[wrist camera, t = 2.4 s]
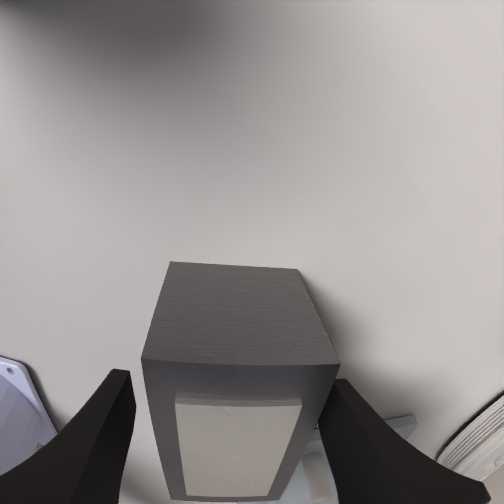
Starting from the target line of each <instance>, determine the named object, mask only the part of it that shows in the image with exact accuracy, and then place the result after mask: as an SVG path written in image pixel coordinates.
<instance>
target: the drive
mask: <svg viewBox="0 0 504 504" xmlns="http://www.w3.org/2000/svg"><path fill="white" fill-rule="evenodd" d="M141 363H142V369H143V376H144V382H145V388H146V394H147V399H148V405H149V410H150V415H151V420H152V425H153V430H154V434H155V439H156V443H157V448H158V452H159V456H160V460H161V464H162V468H163V472H164V476H165V479H166V483H167V487H168V490H169V494H170V497H171V499H172V500H183V501H199V502H260V501H276V500H279V499H280V498H281V496H282V494H283V492H284V490H285V488H286V486H287V484H288V483H289V481H290V479H291V477H292V475H293V473H294V471H295V469H296V467H297V465H298V463H299V461H300V459H301V457H302V454H303V452H304V450H305V448H306V446H307V444H308V442H309V440H310V437H311V435H312V433H313V431H314V428H315V426H316V424H317V422H318V419H319V417H320V415H321V412H322V410H323V408H324V405H325V403H326V400H327V398H328V395H329V393H330V390H331V388H332V385H333V383H334V380H335V378H336V375H337V372H338V370H339V367H340V364H341V363H340V361H339V358H338V356H337V354H336V352H335V349H334V347H333V345H332V343H331V341H330V338H329V336H328V334H327V332H326V330H325V327H324V325H323V323H322V321H321V319H320V317H319V314H318V312H317V310H316V308H315V306H314V304H313V301H312V299H311V297H310V295H309V293H308V291H307V289H306V287H305V284H304V282H303V280H302V278H301V276H300V274H299V272H298V270H297V269H286V268H268V267H251V266H234V265H218V264H202V263H187V262H172V261H170V264H169V267H168V270H167V273H166V276H165V280H164V283H163V286H162V289H161V292H160V295H159V298H158V302H157V305H156V308H155V311H154V315H153V318H152V321H151V325H150V328H149V331H148V335H147V338H146V342H145V345H144V349H143V352H142V356H141Z"/></svg>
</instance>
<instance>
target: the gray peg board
mask: <svg viewBox="0 0 504 504" xmlns="http://www.w3.org/2000/svg"><path fill="white" fill-rule="evenodd" d="M384 421H385V422H386V423H387V424H388V425H389V426H390V427H391V428H392V429H393V430H394V431H396V432H397V433H398V434H399V435H400V436H401V437H402V438H403V439H406V438H407V437H408V436H409V434H410V433H411V432H412V430H413V429H414V428H415V426H416V425H417V424H418V423H417V421H416V419H415V418H414V416H413V415H408V416H403V417H398V418H393V419H388V420H384ZM238 504H339V500H338V495H337V489H336V485H335V481H334V478H333V475H332V472H331V469H330V465H329V462H328V459H327V456H326V453H325V449H324V446H323V443H322V440H321V436H320V431H319V429H314V431H313V433H312V435H311V437H310V440H309V442H308V444H307V446H306V448H305V450H304V452H303V454H302V457H301V459H300V461H299V463H298V465H297V467H296V469H295V471H294V473H293V475H292V477H291V479H290V481H289V483H288V484H287V486H286V488H285V490H284V492H283V494H282V496H281V498H280V499H279V500H276V501H260V502H238Z"/></svg>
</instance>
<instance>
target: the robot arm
mask: <svg viewBox="0 0 504 504" xmlns="http://www.w3.org/2000/svg"><path fill="white" fill-rule="evenodd" d="M135 414H136V402H135V397H134V392H133V387H132V381H131V376H130V371H127V370H120V369H112V370H111V371H110V372H109V374H108V375H107V377H106V378H105V379H104V381H103V382H102V383H101V385H100V386H99V387H98V389H97V390H96V391H95V392H94V394H93V395H92V396H91V397H90V399H89V400H88V401H87V402H86V403H85V405H84V406H83V407H82V408H81V409H80V411H79V412H78V413H77V414H76V415H75V416H74V417H73V418H72V419H71V420H70V422H69V423H68V424H67V425H66V426H65V427H64V428H63V429H62V430H61V431H60V432H59V433H57V431H56V429H55V427H54V426H53V424H52V422H51V420H50V418H49V416H48V414H47V412H46V410H45V408H44V406H43V404H42V402H41V400H40V398H39V396H38V394H37V392H36V389H35V387H34V385H33V383H32V380H31V378H30V376H29V373H28V371H27V369H26V367H25V366H24V365H22V364H21V363H19V362H16V361H13V360H9V359H6V358H3V357H0V504H118V502H119V491H120V484H121V478H122V474H123V470H124V466H125V462H126V458H127V453H128V450H129V445H130V441H131V437H132V433H133V429H134V421H135ZM318 425H319V431H320V436H321V440H322V443H323V446H324V449H325V453H326V456H327V459H328V462H329V465H330V469H331V472H332V475H333V478H334V481H335V485H336V489H337V495H338V500H339V504H487V503H489V502H490V500H491V497H490V495H489V493H488V491H487V489H486V488H485V485H484V484H483V483H482V482H480V481H477V480H474V479H471V478H469V477H466V476H463V475H461V474H459V473H457V472H455V471H452V470H450V469H448V468H446V467H445V466H443V465H441V464H439V463H437V462H436V461H434V460H433V459H431V458H429V457H428V456H426V455H425V454H423V453H422V452H420V451H419V450H418V449H416V448H415V447H414V446H412V445H411V444H410V443H408V442H407V441H406V440H405V439H403V438H402V437H401V436H400V435H399V434H398V433H397V432H396V431H394V430H393V429H392V428H391V427H390V426H389V425H388V424H387V423H386V422H385V421H384V420H383V419H382V418H381V417H380V416H379V415H378V414H377V413H376V412H375V411H374V410H373V409H372V408H371V406H370V405H369V404H368V403H367V402H366V401H365V400H364V399H363V398H362V397H361V395H360V394H359V393H358V392H357V391H356V390H355V389H354V388H353V386H352V385H351V384H350V383H349V382H348V381H347V380H346V379H335V380H334V383H333V385H332V388H331V390H330V393H329V395H328V398H327V400H326V403H325V405H324V408H323V410H322V412H321V415H320V417H319V419H318ZM38 444H41V445H44V446H43V447H42V448H41V449H39V450H38V451H37V452H36V453H35V450H36V448H37V445H38Z"/></svg>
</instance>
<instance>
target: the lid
mask: <svg viewBox="0 0 504 504" xmlns="http://www.w3.org/2000/svg"><path fill="white" fill-rule="evenodd" d="M437 463H439V464H441V465H443V466H445V467H446V468H448V469H450V470H452V471H455V472H457V473H459V474H461V475H463V476H466V477H469V478H471V479H474V480H477V481H478V480H479V479H481V478H483V477H484V476H487V475H489V474H490V473H492V472H493V471H494V470H495V469H496V468H497V467H499V466H500V465H501V464H503V463H504V396H502V397H501V398H500V399H498V400H497V401H496V402H495V403H493V404H492V405H491V406H490V407H489V408H488V409H486V410H485V411H484V412H483V413H482V414H481V415H479V416H478V417H477V418H476V419H475V420H474V421H473V422H472V423H470V424H469V425H468V426H467V427H466V428H465V429H464V430H463V431H462V432H461V433H460V434H459V435H458V436H457V437H456V438H455V439H454V440H453V441H452V442H451V443H450V444H449V445H448V446H447V447H446V449H445V450H444V451H443V452H442V454H441V455H440V456H439V458H438V460H437Z"/></svg>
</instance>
